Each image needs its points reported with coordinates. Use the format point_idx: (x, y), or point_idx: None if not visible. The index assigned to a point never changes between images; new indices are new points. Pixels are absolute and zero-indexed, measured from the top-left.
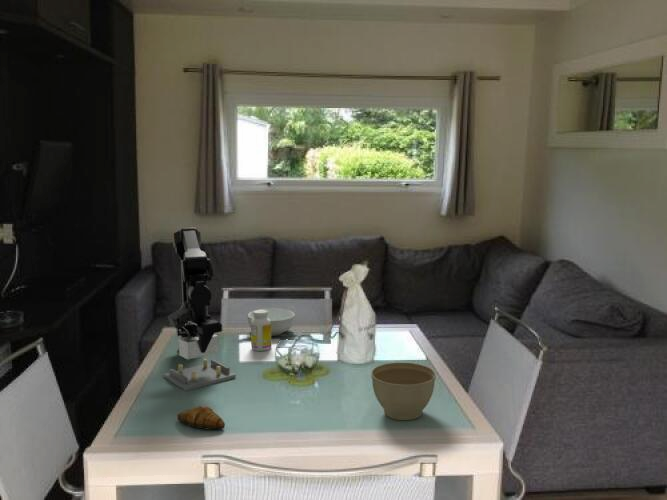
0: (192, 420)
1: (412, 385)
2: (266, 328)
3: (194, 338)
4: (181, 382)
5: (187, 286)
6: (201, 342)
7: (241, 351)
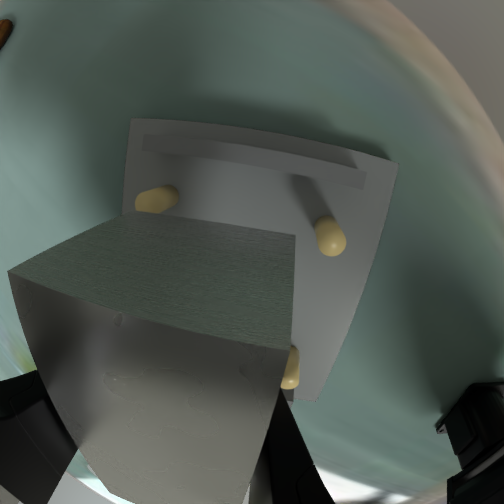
0: None
1: None
2: None
3: (126, 437)
4: (196, 137)
5: None
6: (27, 375)
7: (330, 477)
